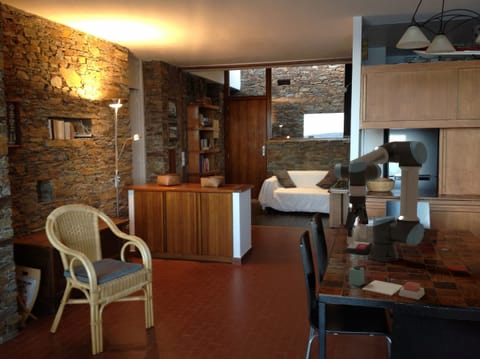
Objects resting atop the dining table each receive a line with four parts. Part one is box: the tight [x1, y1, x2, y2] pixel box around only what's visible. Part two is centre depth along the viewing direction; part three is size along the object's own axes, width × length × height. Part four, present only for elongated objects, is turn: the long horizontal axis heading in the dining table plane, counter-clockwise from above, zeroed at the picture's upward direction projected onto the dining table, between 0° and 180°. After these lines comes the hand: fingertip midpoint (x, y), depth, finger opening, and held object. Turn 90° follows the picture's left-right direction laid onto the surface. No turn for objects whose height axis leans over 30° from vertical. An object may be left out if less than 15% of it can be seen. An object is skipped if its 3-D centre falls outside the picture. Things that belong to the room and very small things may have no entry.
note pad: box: [362, 279, 404, 297], centre depth 197 cm, size 14×13×1 cm
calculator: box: [346, 241, 371, 255], centre depth 262 cm, size 11×4×15 cm
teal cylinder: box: [348, 264, 365, 287], centre depth 203 cm, size 5×5×8 cm
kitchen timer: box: [348, 219, 373, 247], centre depth 277 cm, size 14×14×15 cm
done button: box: [403, 281, 421, 291], centre depth 188 cm, size 5×5×2 cm
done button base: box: [398, 286, 425, 301], centre depth 188 cm, size 8×8×3 cm
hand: (356, 241), depth 202 cm, fingers open, 13 cm apart
